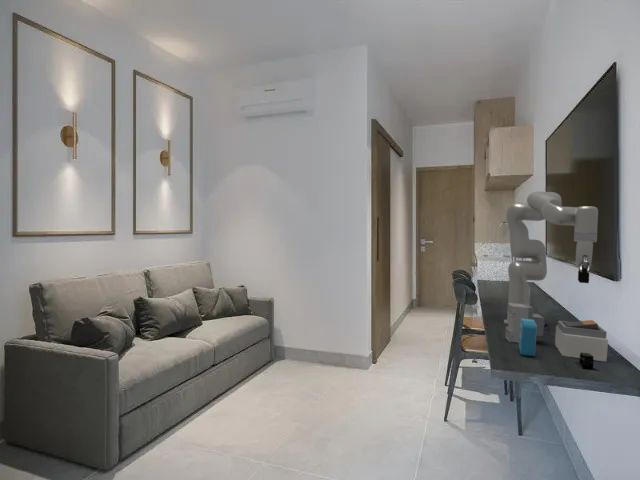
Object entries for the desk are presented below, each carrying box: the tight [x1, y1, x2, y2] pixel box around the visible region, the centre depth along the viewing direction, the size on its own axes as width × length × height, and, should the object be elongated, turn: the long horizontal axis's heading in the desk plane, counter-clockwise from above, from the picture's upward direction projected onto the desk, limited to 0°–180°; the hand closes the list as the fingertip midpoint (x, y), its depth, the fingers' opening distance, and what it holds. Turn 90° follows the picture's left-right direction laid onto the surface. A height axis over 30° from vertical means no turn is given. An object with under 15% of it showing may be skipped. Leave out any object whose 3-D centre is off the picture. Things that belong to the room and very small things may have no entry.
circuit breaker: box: [504, 303, 548, 344], centre depth 174 cm, size 8×14×15 cm, turn 78°
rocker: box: [564, 319, 599, 329], centre depth 161 cm, size 7×10×2 cm
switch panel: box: [554, 320, 609, 362], centre depth 161 cm, size 16×14×10 cm
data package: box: [518, 318, 537, 358], centre depth 158 cm, size 12×4×12 cm, turn 158°
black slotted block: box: [572, 353, 601, 372], centre depth 145 cm, size 12×7×5 cm, turn 166°
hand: (583, 281), depth 162 cm, fingers open, 9 cm apart
